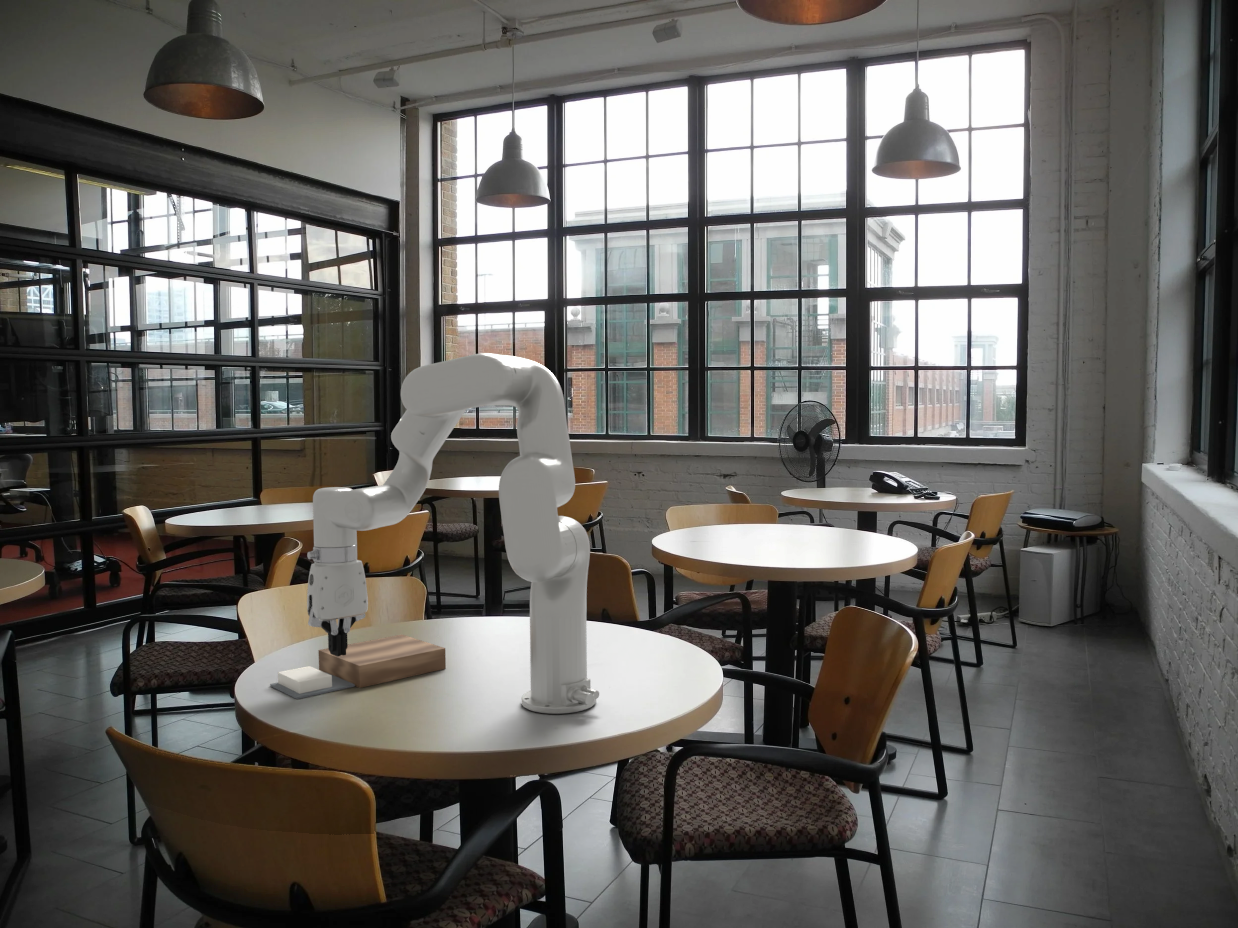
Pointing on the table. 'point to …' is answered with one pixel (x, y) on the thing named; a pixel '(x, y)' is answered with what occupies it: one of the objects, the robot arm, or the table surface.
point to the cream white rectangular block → (304, 679)
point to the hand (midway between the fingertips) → (338, 654)
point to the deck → (383, 660)
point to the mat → (336, 685)
